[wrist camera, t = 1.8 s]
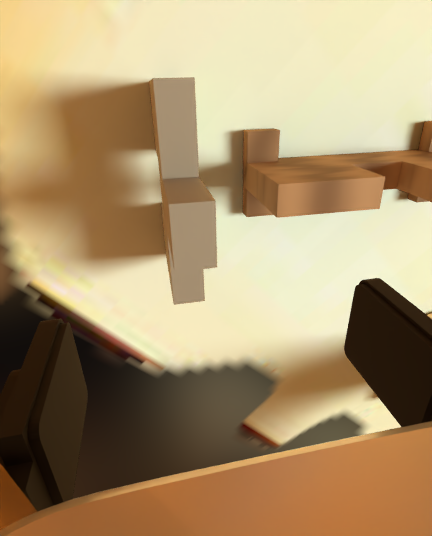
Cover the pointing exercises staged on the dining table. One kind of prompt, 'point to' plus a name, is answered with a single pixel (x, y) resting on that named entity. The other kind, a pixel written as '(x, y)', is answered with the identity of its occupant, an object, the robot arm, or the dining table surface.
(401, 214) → the dining table surface
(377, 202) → the walnut slotted stand
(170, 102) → the grey slotted plate
